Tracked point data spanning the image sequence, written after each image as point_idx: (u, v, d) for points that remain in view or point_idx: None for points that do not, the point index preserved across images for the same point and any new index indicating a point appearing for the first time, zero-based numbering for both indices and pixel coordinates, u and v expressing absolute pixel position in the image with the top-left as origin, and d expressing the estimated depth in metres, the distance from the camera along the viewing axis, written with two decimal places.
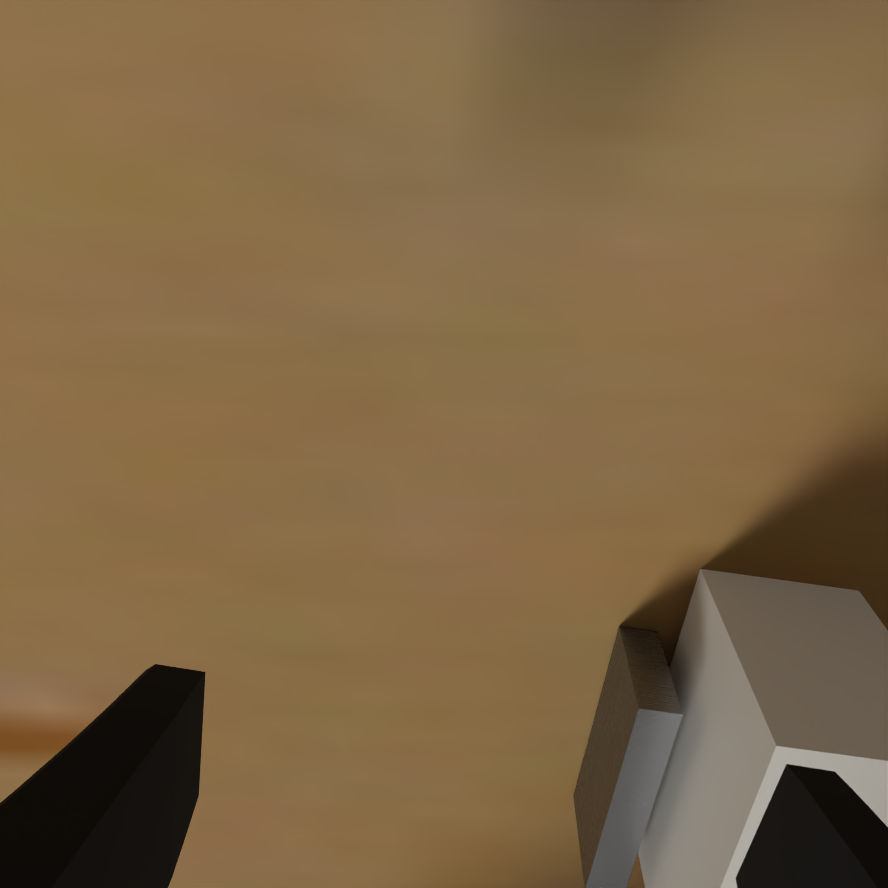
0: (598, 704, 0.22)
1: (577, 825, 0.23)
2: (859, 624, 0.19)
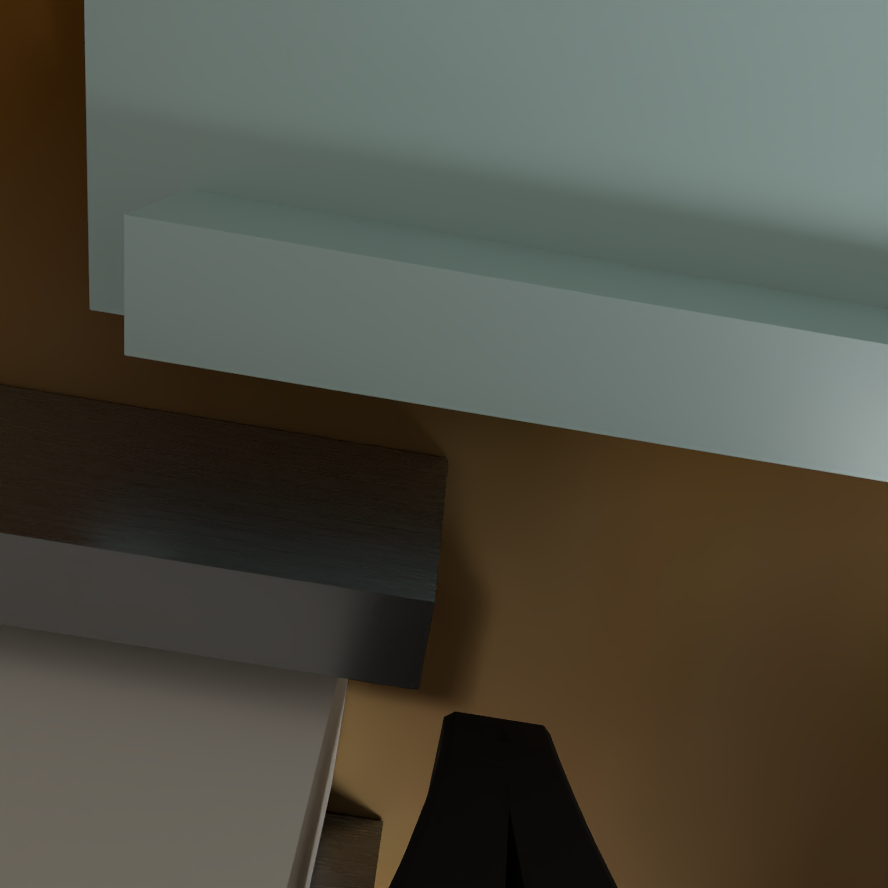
0: None
1: None
2: None
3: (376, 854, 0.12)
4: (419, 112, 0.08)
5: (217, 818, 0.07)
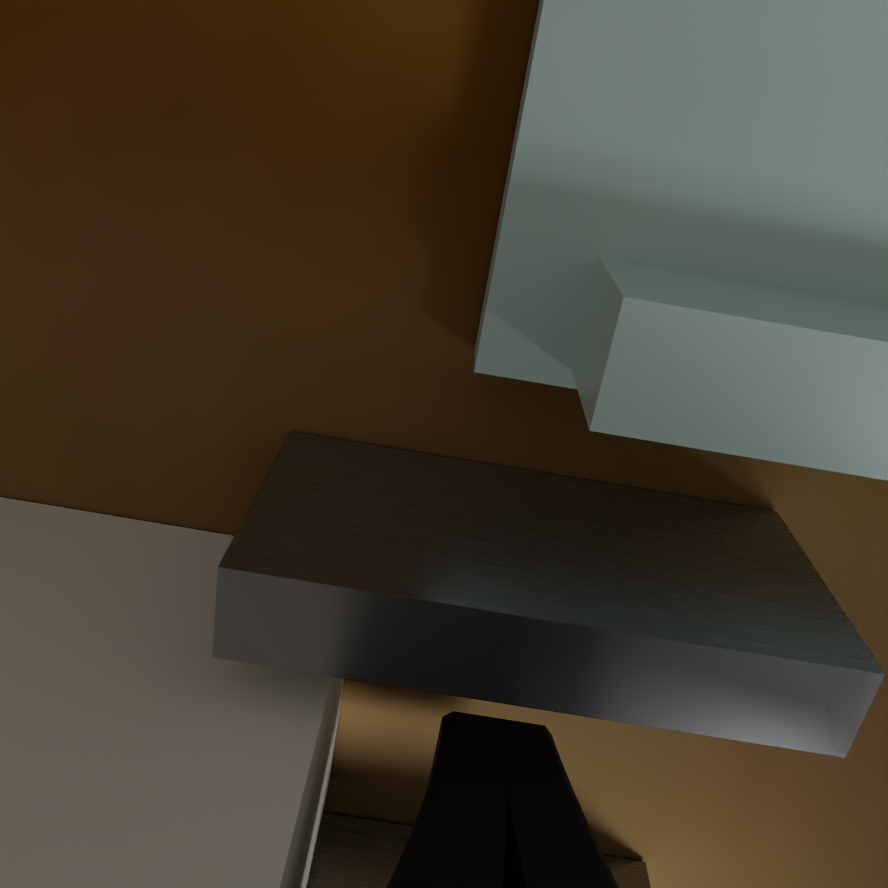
0: None
1: None
2: None
3: None
4: (848, 184, 0.08)
5: (210, 817, 0.07)
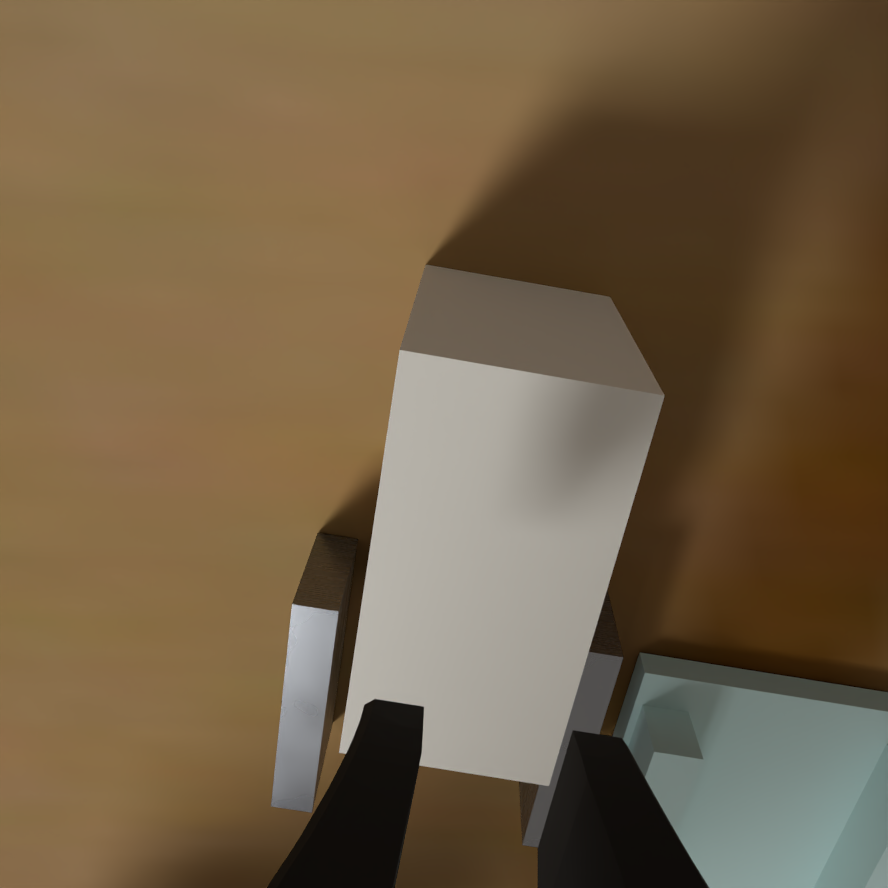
0: None
1: None
2: (589, 310, 0.16)
3: None
4: (704, 779, 0.22)
5: None
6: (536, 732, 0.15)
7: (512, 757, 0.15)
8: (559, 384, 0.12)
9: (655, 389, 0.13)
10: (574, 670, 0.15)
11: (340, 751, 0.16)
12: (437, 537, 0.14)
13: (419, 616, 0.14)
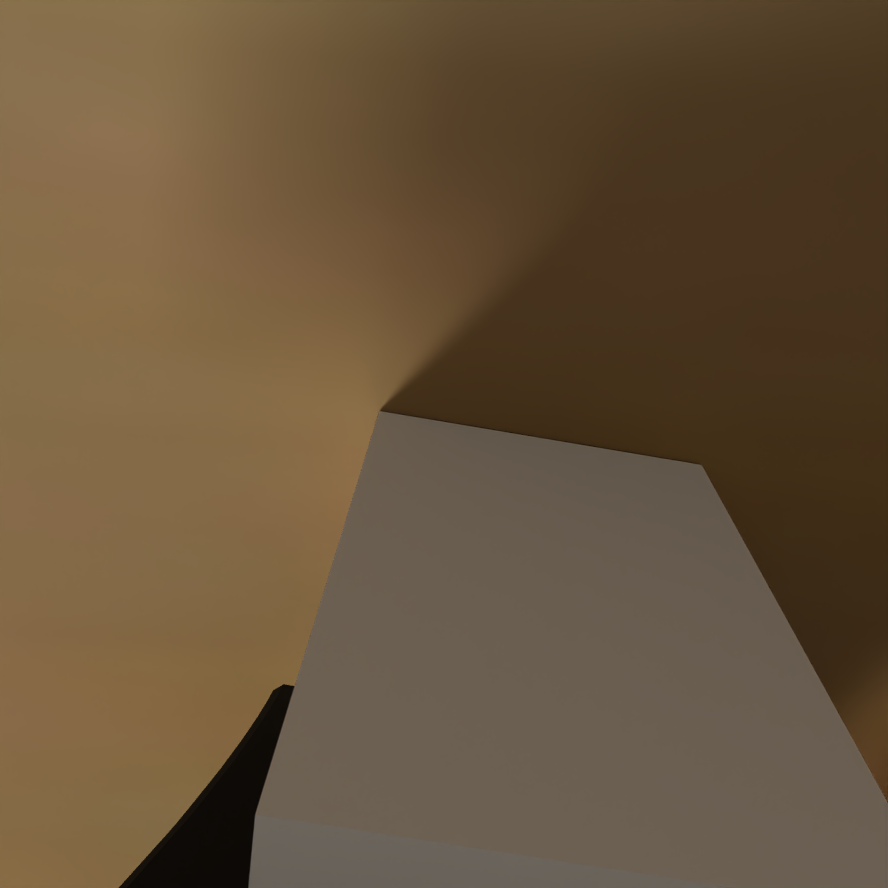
0: None
1: None
2: (679, 521, 0.09)
3: None
4: None
5: None
6: None
7: None
8: None
9: None
10: None
11: None
12: None
13: None
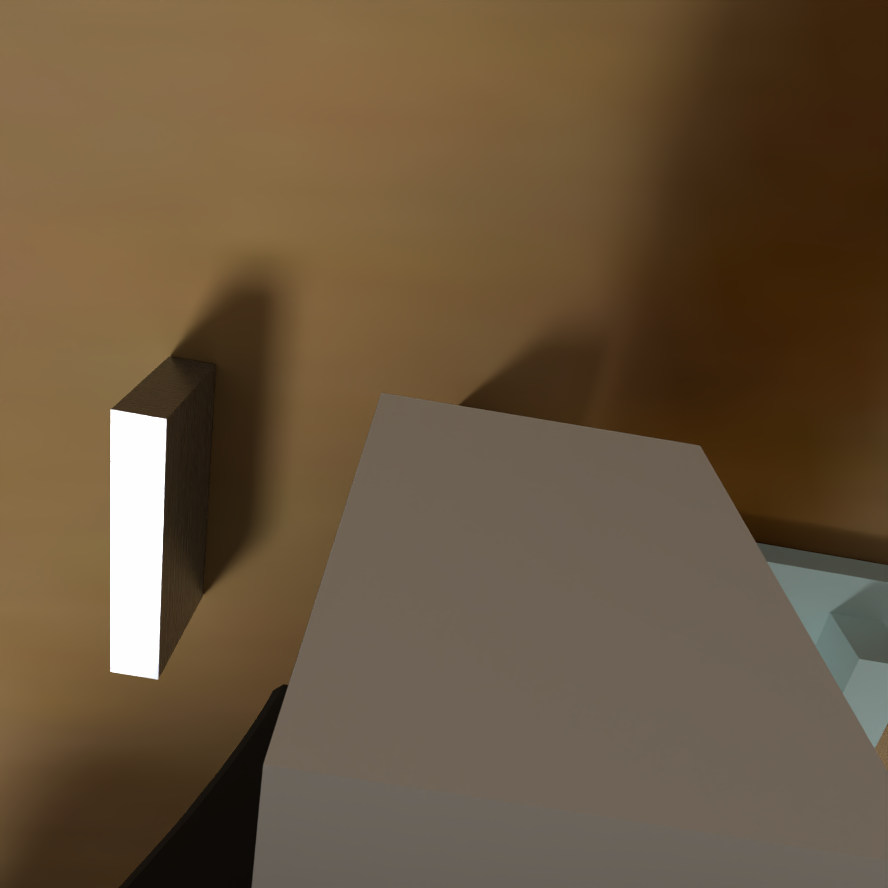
0: None
1: None
2: (678, 498, 0.09)
3: None
4: None
5: None
6: None
7: None
8: (675, 843, 0.05)
9: None
10: None
11: None
12: None
13: None
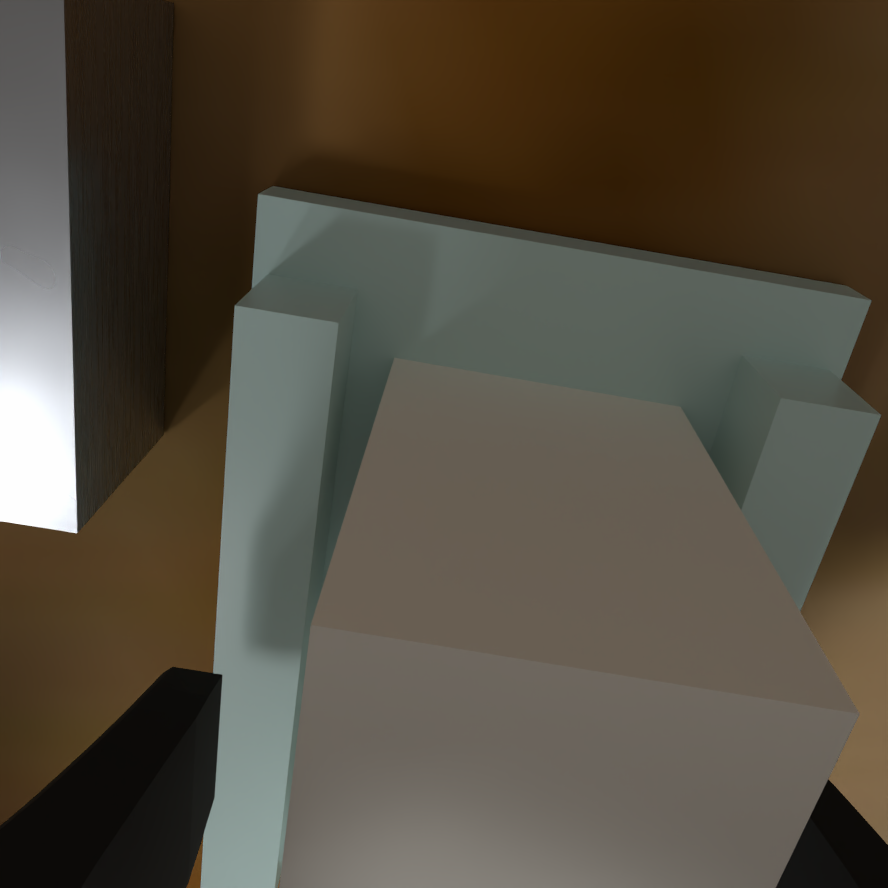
0: None
1: None
2: (658, 448, 0.10)
3: None
4: None
5: None
6: None
7: None
8: (642, 693, 0.06)
9: (834, 690, 0.06)
10: None
11: None
12: None
13: None
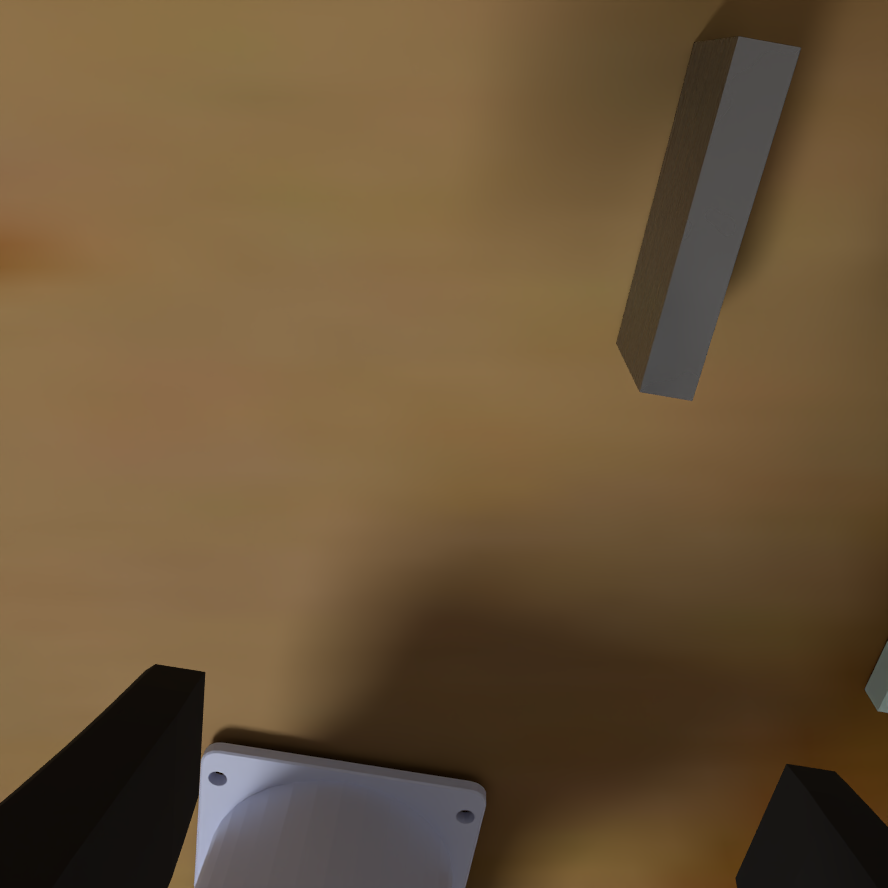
0: (658, 182, 0.17)
1: (623, 357, 0.17)
2: None
3: None
4: None
5: None
6: None
7: None
8: None
9: None
10: None
11: None
12: None
13: None
